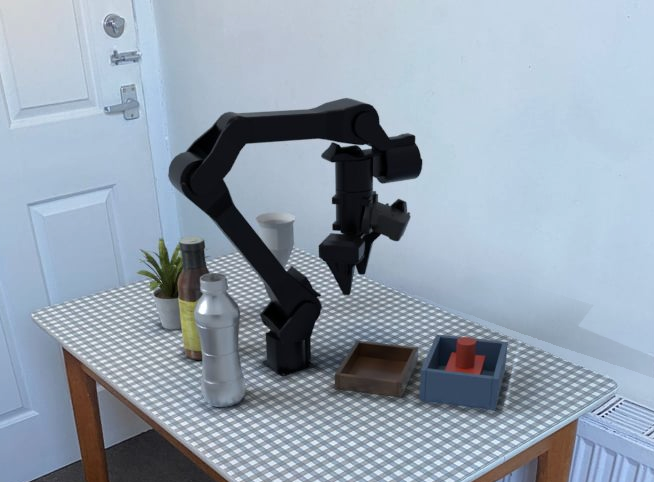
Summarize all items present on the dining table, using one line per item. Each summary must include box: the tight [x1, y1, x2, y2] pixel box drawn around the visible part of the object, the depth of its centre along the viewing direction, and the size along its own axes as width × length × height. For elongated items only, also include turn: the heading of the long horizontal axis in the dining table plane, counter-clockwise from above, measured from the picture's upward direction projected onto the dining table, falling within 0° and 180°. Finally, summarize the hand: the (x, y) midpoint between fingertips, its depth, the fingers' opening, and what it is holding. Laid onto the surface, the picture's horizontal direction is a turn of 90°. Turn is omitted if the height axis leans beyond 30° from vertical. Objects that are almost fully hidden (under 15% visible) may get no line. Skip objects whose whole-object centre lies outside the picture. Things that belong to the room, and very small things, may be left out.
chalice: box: [255, 211, 296, 268], centre depth 145 cm, size 7×7×18 cm
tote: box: [419, 334, 509, 411], centre depth 120 cm, size 11×13×6 cm
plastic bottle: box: [194, 272, 247, 408], centre depth 115 cm, size 6×7×20 cm
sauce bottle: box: [177, 236, 210, 361], centre depth 130 cm, size 6×6×20 cm
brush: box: [445, 336, 485, 375], centre depth 119 cm, size 8×5×7 cm
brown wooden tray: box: [334, 340, 419, 399], centre depth 124 cm, size 10×12×3 cm
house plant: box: [136, 237, 211, 330], centre depth 141 cm, size 14×14×16 cm
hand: (354, 284), depth 127 cm, fingers open, 9 cm apart
